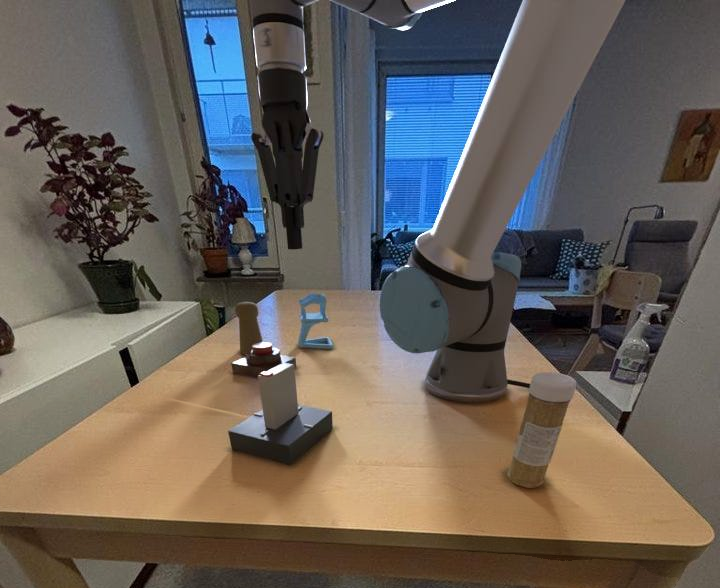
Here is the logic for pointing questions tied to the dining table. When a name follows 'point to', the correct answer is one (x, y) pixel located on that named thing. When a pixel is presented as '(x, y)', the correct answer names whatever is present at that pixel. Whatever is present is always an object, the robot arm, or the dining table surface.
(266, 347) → the button
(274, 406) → the handle
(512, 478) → the sprinkles bottle
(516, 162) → the robot arm
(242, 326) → the cork
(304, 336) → the chair
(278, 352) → the button block
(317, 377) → the dining table surface
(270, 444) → the panel
